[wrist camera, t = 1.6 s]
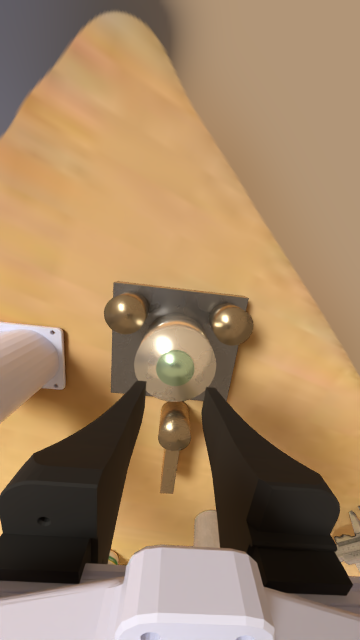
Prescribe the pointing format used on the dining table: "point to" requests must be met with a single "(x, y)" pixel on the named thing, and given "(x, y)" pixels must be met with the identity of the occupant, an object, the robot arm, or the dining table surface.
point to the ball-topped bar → (172, 440)
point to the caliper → (349, 543)
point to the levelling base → (167, 306)
